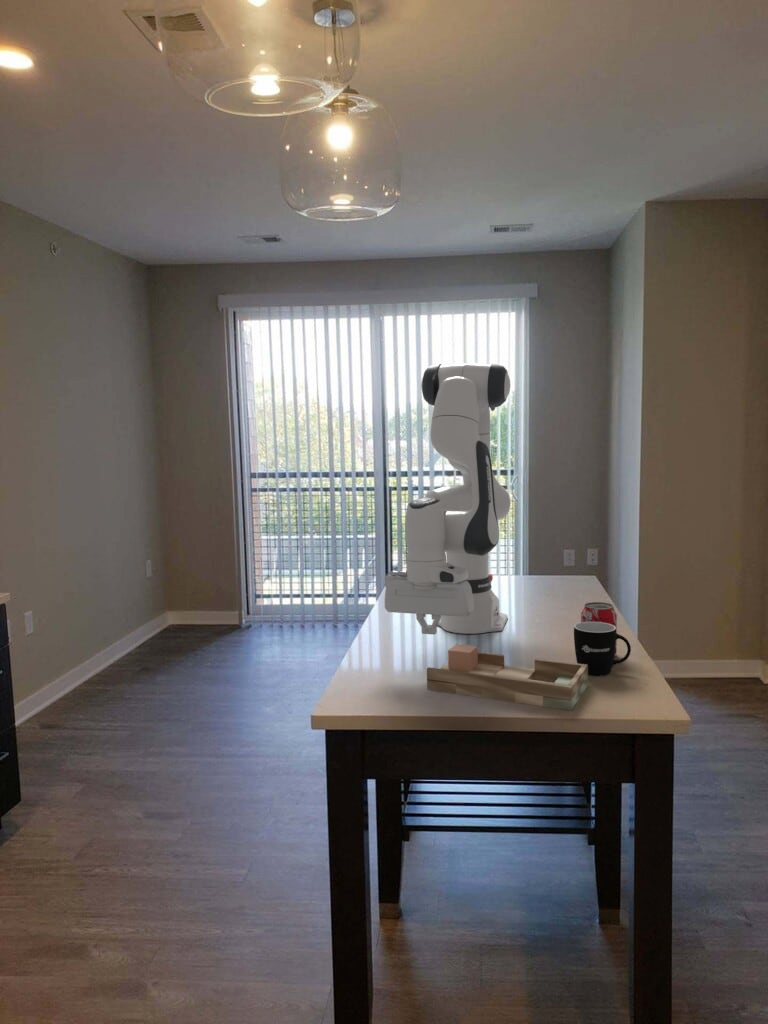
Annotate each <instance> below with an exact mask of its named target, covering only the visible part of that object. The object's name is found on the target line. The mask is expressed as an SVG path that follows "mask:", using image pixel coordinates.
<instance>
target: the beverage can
mask: <svg viewBox="0 0 768 1024" xmlns="http://www.w3.org/2000/svg"><path fill="white" fill-rule="evenodd" d="M614 608H615V607H614V605H613V604H612V603H610V602H609V603H608V602H600V601H593V602H592V601H591V602H587V603H585V604H584V607H583V608H582V611H581V613H580V614H581V615H580V617H581V618H580V620H581V621H580V623H581V622H603V623H608V624H611V625H614V626H615V627H616V633H617V631H618V630H617V629H618V627H617V626H618V624H617V621H618V620H617V619H618V615H617V612H616V610H615V609H614ZM617 634H618V633H617ZM617 641H618V639H617V640H616V647H615V655H616V654H617V645H618V644H617Z"/></svg>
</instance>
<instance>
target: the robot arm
mask: <svg viewBox="0 0 768 1024" xmlns="http://www.w3.org/2000/svg"><path fill="white" fill-rule="evenodd" d="M422 375H423V376H422V378H421V385H420V386H421V387H420V388H421V393H422V397H423V400H424V401H425V402H426V403H427V404H428V405H431V406H433V411H432V418H431V425H430V442H431V445H432V447H433V448H434V450H435V451H436V452H437V453H438V454H439V455H440V456H441V457H443V458H445V459H447V460H448V463H449V464H450V466H451V467H452V468H454V469H455V470H456V471H459V472H460V473H461V476H462V480H463V484H455V485H444V486H441V487H437V488H434V489H432V490H429V491H427V492H426V493H425V495H424V497H422V498H416V499H414V500H410V502H409V503H408V504H407V507H406V512H405V523H404V525H405V526H404V536H405V543H406V546H407V553H406V559H405V561H406V562H405V563H406V571H405V570H403V571H402V570H400V571H397V570H391V571H390V572H387V573H386V575H385V576H384V586H385V592H384V609H385V610H386V612H388V613H396V614H397V613H399V614H413V615H414V614H415V616H416V617H415V618H416V620H417V622H418V624H419V625H420V627H421V634H422V635H433V636H434V635H436V634H437V632H438V631H437V630H438V629H437V628H438V626H439V627H441V628H442V629H443V630H445V631H447V632H450V633H456V634H465V635H466V634H468V635H469V634H471V635H472V634H473V635H475V634H484V633H489V632H490V633H491V632H503V629H504V627H505V625H506V622H507V620H508V614H506V613H504V612H500V599H499V597H498V596H497V595H496V594H495V592H493V590H492V582H493V579H494V578H493V576H494V575H493V574H491V573H490V574H489V553H491V551H492V550H493V549H494V548H495V547H496V546H497V545H498V543H499V540H500V539H499V538H500V528H499V520H503V519H505V518H506V517H507V515H508V513H509V512H510V510H511V509H510V508H511V498H510V495H509V493H508V492H509V491H507V489H506V488H505V487H504V486H503V485H501V483H499V481H498V480H497V478H496V476H495V473H494V470H493V466H492V457H491V412H493V411H495V409H496V408H498V407H501V406H502V405H503V404H504V403H506V401H507V398H508V396H509V394H510V391H511V379H510V376H509V373H508V370H507V369H506V367H505V366H503V365H500V364H496V363H491V364H487V363H478V362H465V363H449V364H441V363H438V364H433V365H429V366H428V367H427V368H426V369H425V370H424V373H423V374H422ZM427 615H428V616H429V615H431V620H433V621H432V622H431V623H432V624H428V623H427V621H426V620H425V617H426V616H427Z"/></svg>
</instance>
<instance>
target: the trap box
mask: <svg viewBox="0 0 768 1024" xmlns="http://www.w3.org/2000/svg"><path fill="white" fill-rule="evenodd" d="M588 681H589V675H588V665H586V664H578V663H577V662H569V661H558V660H550V659H543V658H542V659H541V658H535V659H534V668H527V667H516V666H510V665H509V666H508V665H505V654H501V653H500V654H499V653H498V654H497V653H492V652H491V653H489V652H481V651H478V665H476V666H475V667H474V668H473V669H472V670H471V671H467V670H459V669H451V668H448V662H446V664H444V665H443V666H442V667H441V668H437V667H427V668H426V690H427V691H435V692H440V693H441V692H442V693H447V694H448V693H449V694H457V695H463V696H468V697H469V696H470V697H478V698H483V699H490V700H496V701H502V702H503V701H504V702H509V703H510V702H511V703H519V704H524V705H532V706H538V707H546V708H552V709H559V710H565V711H567V710H568V711H572V710H573V709H574V707H575V706H576V704H577V703H578V701H579V699H580V698H581V696H582V695H583V694H584V692H585V690H586V689H587V688H588V686H589V683H588Z"/></svg>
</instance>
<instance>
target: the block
mask: <svg viewBox="0 0 768 1024" xmlns="http://www.w3.org/2000/svg"><path fill="white" fill-rule="evenodd" d="M478 647H479V646H476V645H467V644H458V643H456V644H455V645H454V646H452V647H451V648H448V650H447V655H448V656H447V660H448V661H447V663H448V668H451V669H459V670H467V671H471V670H472V669H473V668H474V667H475V666H476V665H478V652H479V649H478Z"/></svg>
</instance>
